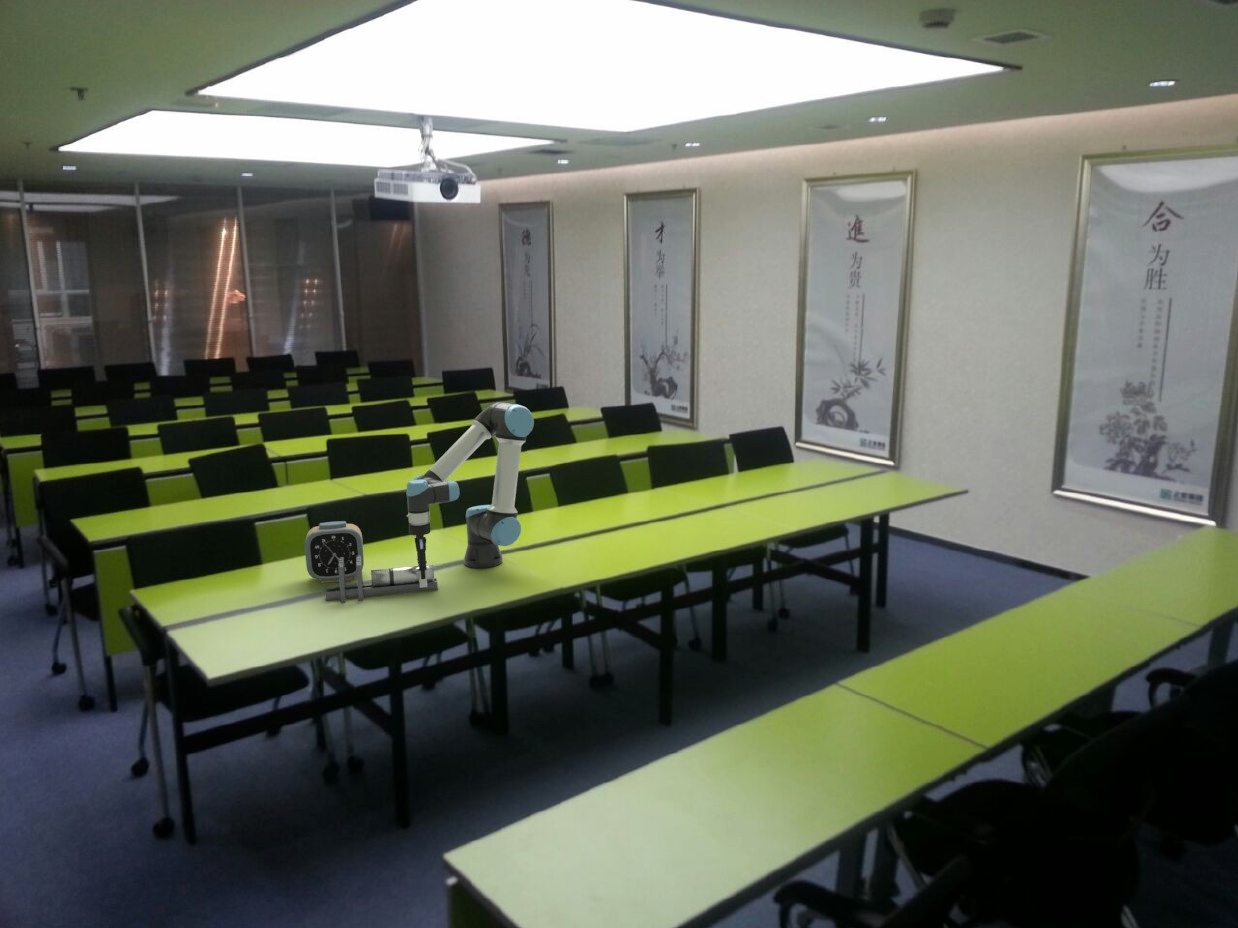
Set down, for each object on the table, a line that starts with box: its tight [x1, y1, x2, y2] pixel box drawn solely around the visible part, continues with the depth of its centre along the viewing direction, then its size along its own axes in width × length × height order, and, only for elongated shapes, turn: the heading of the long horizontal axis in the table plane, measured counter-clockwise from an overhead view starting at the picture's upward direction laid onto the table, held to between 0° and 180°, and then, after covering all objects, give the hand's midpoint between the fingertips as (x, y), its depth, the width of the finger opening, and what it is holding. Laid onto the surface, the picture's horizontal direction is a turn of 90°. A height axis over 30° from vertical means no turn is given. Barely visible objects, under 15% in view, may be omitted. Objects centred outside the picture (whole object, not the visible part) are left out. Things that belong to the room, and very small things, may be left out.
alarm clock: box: [304, 520, 365, 584], centre depth 353 cm, size 21×10×22 cm, turn 105°
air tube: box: [370, 564, 435, 587], centre depth 338 cm, size 22×6×6 cm, turn 105°
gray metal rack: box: [324, 555, 439, 604], centre depth 336 cm, size 39×12×13 cm, turn 105°
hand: (423, 584), depth 341 cm, fingers closed on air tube, 6 cm apart
